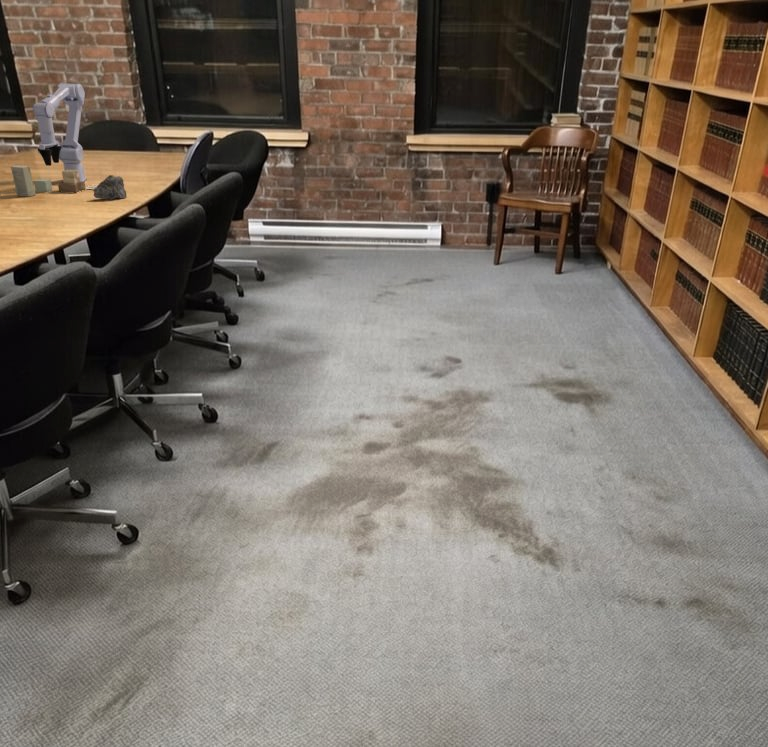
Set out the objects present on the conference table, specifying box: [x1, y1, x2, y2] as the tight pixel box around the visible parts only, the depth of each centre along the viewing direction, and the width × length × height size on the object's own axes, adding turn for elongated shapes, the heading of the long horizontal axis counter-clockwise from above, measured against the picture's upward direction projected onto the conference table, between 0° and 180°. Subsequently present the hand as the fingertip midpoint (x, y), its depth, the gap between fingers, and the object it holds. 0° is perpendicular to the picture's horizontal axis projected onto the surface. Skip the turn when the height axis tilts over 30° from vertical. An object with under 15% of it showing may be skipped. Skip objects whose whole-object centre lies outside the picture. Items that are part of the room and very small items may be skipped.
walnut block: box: [57, 181, 87, 194], centre depth 295 cm, size 8×8×4 cm
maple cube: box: [61, 170, 80, 184], centre depth 293 cm, size 5×5×5 cm
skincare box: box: [10, 164, 36, 197], centre depth 281 cm, size 6×4×12 cm
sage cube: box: [33, 178, 53, 193], centre depth 291 cm, size 5×5×5 cm
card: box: [85, 184, 97, 190], centre depth 304 cm, size 10×7×1 cm
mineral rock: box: [92, 174, 127, 200], centre depth 284 cm, size 13×11×10 cm
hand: (52, 164), depth 296 cm, fingers open, 7 cm apart
